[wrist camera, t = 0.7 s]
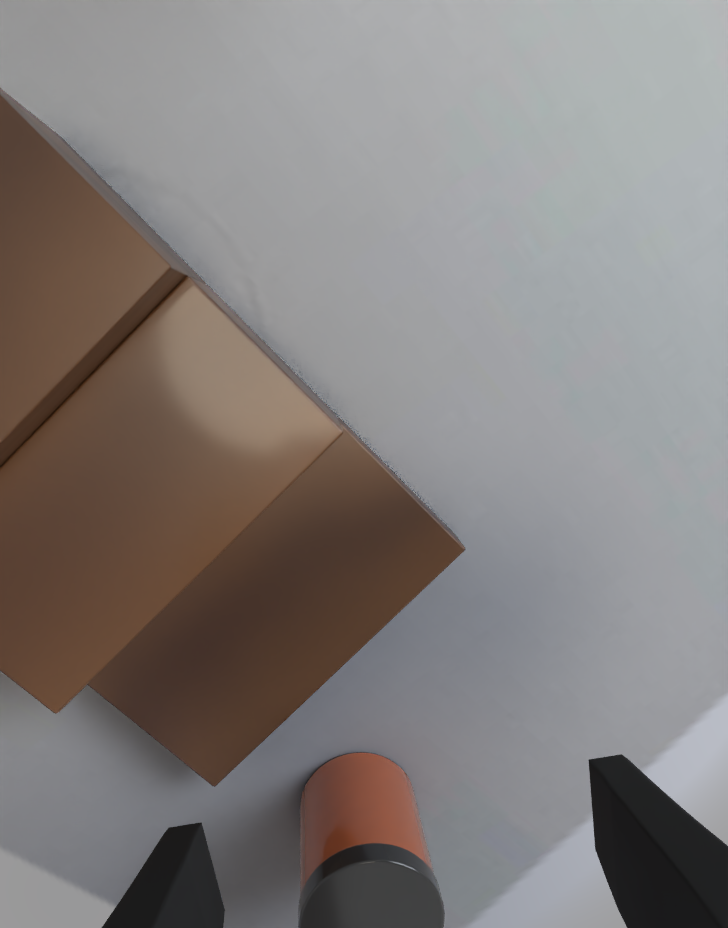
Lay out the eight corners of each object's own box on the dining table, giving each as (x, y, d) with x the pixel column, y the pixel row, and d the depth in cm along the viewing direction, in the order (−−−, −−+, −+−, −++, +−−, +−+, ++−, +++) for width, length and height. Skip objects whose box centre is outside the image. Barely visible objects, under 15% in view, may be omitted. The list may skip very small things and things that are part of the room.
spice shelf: (455, 535, 22) (505, 600, 17) (219, 759, 23) (195, 889, 18) (60, 135, 19) (-35, 58, 14) (-201, 413, 20) (-389, 444, 14)
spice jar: (332, 872, 24) (341, 1010, 19) (277, 784, 23) (271, 905, 18) (434, 820, 24) (468, 944, 19) (383, 730, 23) (405, 835, 18)
